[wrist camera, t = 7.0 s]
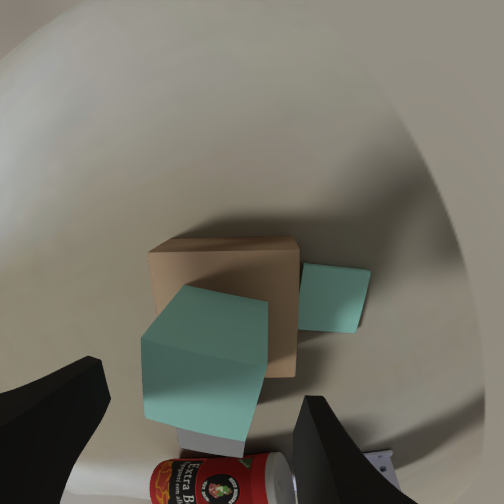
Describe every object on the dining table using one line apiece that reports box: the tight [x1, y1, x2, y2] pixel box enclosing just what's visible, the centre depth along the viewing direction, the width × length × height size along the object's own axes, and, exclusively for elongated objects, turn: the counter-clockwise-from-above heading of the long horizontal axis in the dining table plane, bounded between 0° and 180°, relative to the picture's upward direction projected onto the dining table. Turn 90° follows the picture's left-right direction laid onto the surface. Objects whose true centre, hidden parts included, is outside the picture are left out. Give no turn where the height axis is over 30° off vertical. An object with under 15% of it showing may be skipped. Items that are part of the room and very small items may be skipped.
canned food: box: [150, 452, 296, 504], centre depth 17 cm, size 8×8×11 cm
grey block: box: [176, 427, 245, 458], centre depth 16 cm, size 4×4×5 cm
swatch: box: [298, 263, 371, 333], centre depth 16 cm, size 4×4×1 cm
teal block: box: [141, 285, 268, 441], centre depth 11 cm, size 4×4×5 cm
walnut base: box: [147, 236, 300, 378], centre depth 15 cm, size 7×7×4 cm
